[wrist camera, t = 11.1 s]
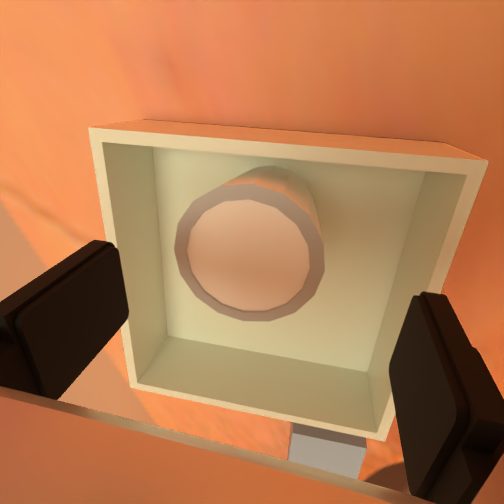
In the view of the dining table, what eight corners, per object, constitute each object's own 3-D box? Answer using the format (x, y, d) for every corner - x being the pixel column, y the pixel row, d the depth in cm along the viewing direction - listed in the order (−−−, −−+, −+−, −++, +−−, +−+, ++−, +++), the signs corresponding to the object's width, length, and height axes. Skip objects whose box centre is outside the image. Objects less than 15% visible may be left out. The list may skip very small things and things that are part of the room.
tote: (443, 142, 17) (489, 161, 13) (372, 374, 25) (384, 441, 20) (145, 119, 20) (88, 127, 15) (164, 336, 28) (130, 387, 23)
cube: (359, 388, 26) (366, 448, 22) (348, 429, 28) (353, 490, 24) (297, 377, 27) (292, 432, 22) (291, 417, 29) (285, 475, 25)
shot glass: (263, 276, 23) (241, 345, 16) (195, 201, 21) (143, 246, 15) (348, 219, 20) (359, 277, 14) (276, 128, 18) (252, 146, 12)
